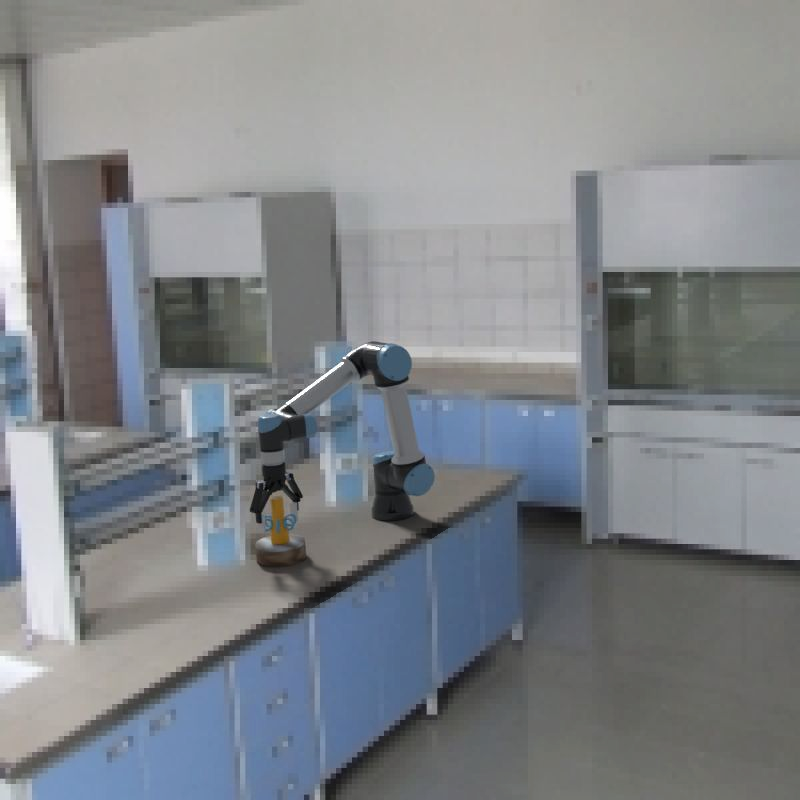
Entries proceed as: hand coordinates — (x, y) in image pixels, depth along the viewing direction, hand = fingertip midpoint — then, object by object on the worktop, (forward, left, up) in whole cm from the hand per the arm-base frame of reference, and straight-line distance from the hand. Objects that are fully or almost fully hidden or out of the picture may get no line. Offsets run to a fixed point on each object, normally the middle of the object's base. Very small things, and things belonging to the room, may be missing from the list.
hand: (278, 526), depth 347 cm
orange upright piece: (0, 0, -5) cm, 5 cm away
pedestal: (0, 0, -11) cm, 11 cm away
